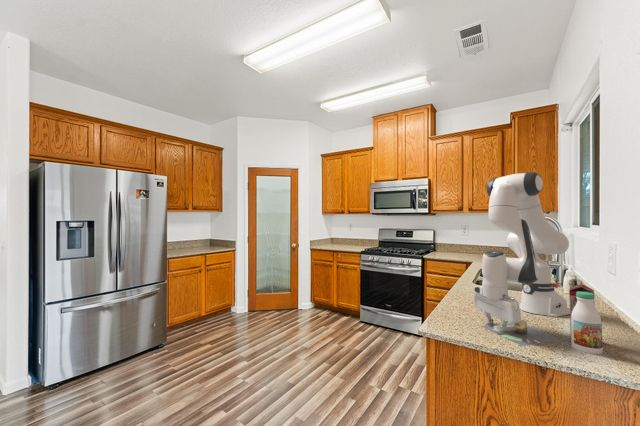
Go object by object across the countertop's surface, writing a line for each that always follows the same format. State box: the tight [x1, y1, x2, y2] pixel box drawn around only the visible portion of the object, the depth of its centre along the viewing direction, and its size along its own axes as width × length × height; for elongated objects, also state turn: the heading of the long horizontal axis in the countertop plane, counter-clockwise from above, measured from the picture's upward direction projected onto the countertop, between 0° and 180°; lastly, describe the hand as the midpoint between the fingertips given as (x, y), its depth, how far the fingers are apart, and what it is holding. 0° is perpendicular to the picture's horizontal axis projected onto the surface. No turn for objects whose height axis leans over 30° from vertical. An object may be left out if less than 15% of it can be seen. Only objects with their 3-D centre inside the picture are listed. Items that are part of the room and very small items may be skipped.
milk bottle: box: [570, 291, 604, 355], centre depth 97 cm, size 8×8×20 cm
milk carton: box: [569, 280, 596, 330], centre depth 106 cm, size 7×7×22 cm
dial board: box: [481, 322, 566, 347], centre depth 111 cm, size 19×19×1 cm
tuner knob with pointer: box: [494, 319, 528, 334], centre depth 111 cm, size 12×4×4 cm, turn 93°
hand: (496, 326), depth 115 cm, fingers open, 5 cm apart
